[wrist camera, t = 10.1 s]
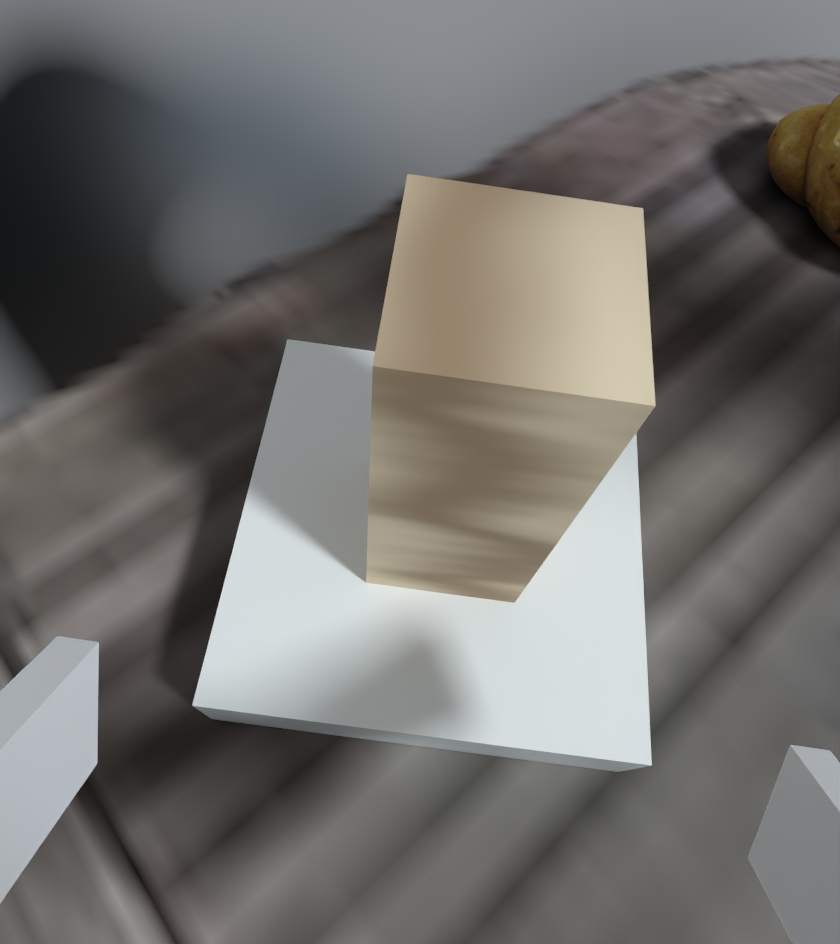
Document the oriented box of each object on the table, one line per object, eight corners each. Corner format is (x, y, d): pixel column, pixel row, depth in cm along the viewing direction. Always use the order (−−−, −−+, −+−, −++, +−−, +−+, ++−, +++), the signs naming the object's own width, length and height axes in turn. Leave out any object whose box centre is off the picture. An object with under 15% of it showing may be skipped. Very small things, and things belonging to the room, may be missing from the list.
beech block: (520, 471, 25) (643, 208, 14) (514, 602, 22) (655, 405, 12) (386, 452, 25) (407, 173, 14) (366, 582, 22) (372, 366, 12)
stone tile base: (609, 427, 30) (634, 388, 27) (617, 771, 23) (651, 765, 20) (294, 382, 29) (287, 339, 27) (211, 719, 23) (191, 705, 20)
